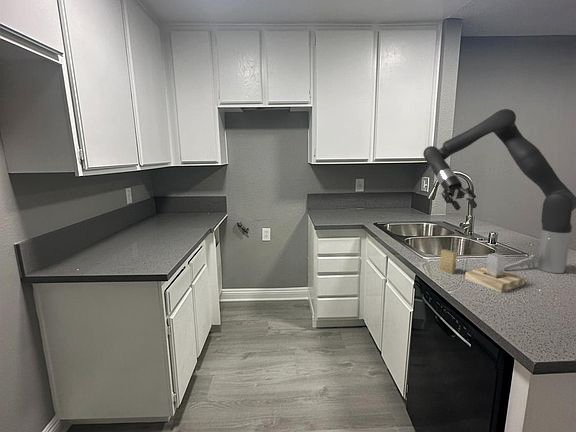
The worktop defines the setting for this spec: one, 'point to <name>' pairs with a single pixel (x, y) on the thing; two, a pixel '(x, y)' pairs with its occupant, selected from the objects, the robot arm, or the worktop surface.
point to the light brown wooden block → (448, 261)
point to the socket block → (495, 280)
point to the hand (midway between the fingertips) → (467, 208)
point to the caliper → (523, 263)
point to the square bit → (495, 265)
